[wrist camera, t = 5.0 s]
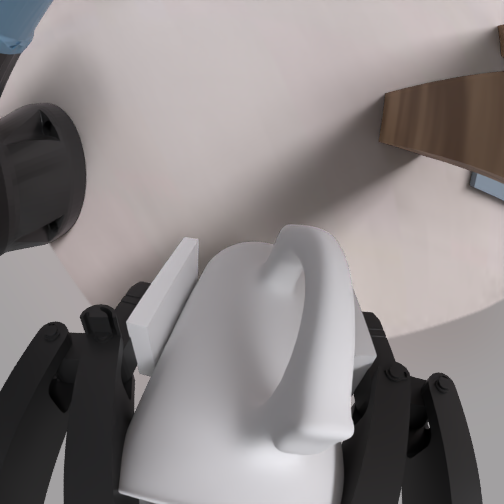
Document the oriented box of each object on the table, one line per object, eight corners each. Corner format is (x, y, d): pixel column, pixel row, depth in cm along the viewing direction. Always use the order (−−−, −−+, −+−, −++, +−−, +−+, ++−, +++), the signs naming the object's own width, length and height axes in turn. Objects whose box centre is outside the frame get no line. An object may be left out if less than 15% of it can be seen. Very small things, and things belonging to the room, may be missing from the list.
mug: (287, 346, 17) (281, 533, 6) (186, 314, 16) (115, 499, 6) (367, 206, 12) (521, 439, 2) (236, 153, 12) (14, 381, 1)
